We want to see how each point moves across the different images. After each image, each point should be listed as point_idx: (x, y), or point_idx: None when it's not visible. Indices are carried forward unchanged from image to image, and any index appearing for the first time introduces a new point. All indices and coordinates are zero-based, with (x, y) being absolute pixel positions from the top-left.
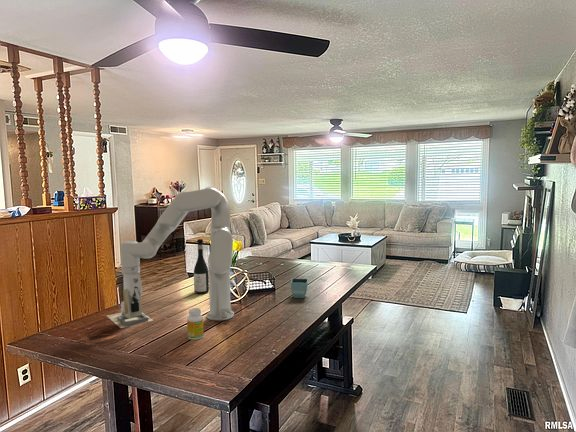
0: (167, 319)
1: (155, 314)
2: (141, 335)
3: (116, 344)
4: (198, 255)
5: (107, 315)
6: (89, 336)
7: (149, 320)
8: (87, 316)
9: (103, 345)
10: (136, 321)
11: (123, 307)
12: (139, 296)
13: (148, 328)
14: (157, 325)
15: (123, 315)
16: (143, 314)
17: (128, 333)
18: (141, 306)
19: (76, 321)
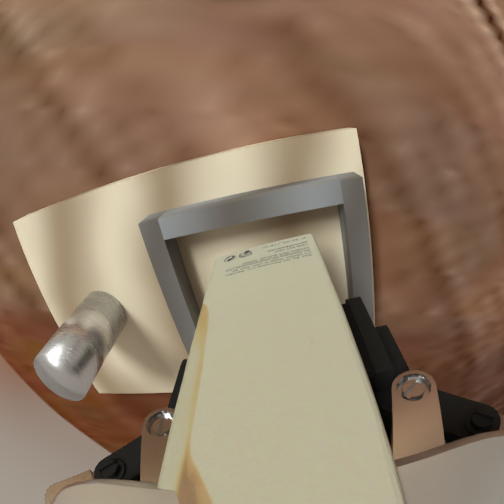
0: (307, 7)
1: (123, 80)
2: (492, 252)
3: (490, 358)
4: None
5: (96, 388)
6: None
7: (348, 161)
8: (63, 417)
9: (460, 396)
10: (369, 280)
11: (100, 366)
12: (378, 423)
13: (427, 189)
14: (406, 113)
15: (123, 327)
16: (237, 202)
17: (423, 313)
18: (331, 280)
19: (114, 450)
